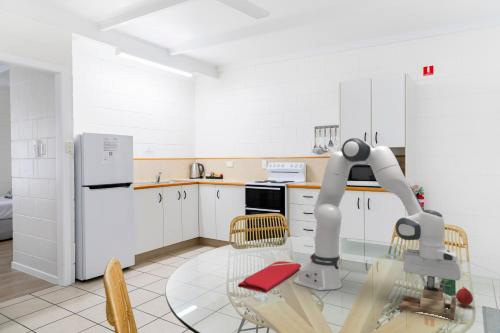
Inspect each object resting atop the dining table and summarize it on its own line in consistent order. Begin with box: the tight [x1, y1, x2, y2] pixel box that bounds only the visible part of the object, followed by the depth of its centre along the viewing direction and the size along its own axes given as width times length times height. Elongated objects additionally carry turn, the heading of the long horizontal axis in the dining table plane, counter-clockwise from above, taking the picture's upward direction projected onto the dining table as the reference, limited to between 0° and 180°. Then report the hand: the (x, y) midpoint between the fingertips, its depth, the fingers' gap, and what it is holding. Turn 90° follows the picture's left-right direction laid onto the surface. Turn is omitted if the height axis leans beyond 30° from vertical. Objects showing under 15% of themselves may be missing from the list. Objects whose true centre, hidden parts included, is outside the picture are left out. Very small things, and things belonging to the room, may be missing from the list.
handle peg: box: [426, 276, 436, 291], centre depth 141 cm, size 3×3×10 cm
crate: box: [419, 286, 446, 313], centre depth 140 cm, size 8×8×8 cm
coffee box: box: [439, 278, 457, 297], centre depth 161 cm, size 8×3×13 cm, turn 6°
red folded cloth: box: [237, 260, 302, 293], centre depth 181 cm, size 16×41×4 cm, turn 149°
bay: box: [397, 294, 457, 321], centre depth 141 cm, size 19×12×5 cm, turn 58°
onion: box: [455, 286, 474, 307], centre depth 145 cm, size 6×6×8 cm
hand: (430, 287), depth 141 cm, fingers closed on handle peg, 3 cm apart
